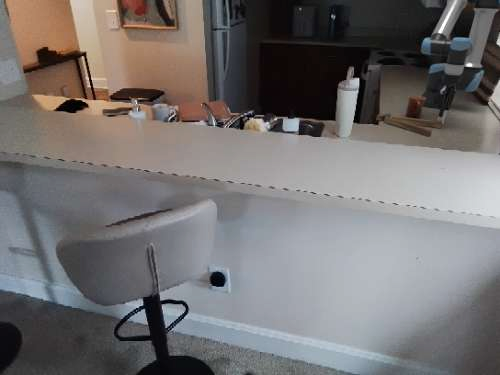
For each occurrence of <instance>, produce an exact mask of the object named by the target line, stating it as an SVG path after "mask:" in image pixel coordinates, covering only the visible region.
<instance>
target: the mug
mask: <svg viewBox="0 0 500 375" xmlns="http://www.w3.org/2000/svg"><path fill="white" fill-rule="evenodd" d="M425 100H426V98H425V97H422V95H414V94H413V95H408V96H407V102H408V103H407V108H406V111H405V112H406V113H405V116H406V118H414V119H420V117H421V116H422V112H423V109H424V108H423V107H424V106H423V104H424V102H425Z"/></svg>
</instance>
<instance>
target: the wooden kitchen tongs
mask: <svg viewBox="0 0 500 375" xmlns="http://www.w3.org/2000/svg"><path fill="white" fill-rule="evenodd" d="M375 120H376V121H380V122H381V121H383V122H384V123H386V124H389V125H392V126H396V127H399V128H401V129H406V130H408V131H411V132H415V133H418V134H421V135H425V136H428V137H429V136H432V133H433V130H432V129H430V128H427V127H424V126H421V125H414V124H410V123H407V122H403V121H400V120H397V119H393V118H392V114H390V113H380V114H377V115H376V119H375Z"/></svg>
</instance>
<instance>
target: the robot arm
mask: <svg viewBox="0 0 500 375" xmlns="http://www.w3.org/2000/svg"><path fill="white" fill-rule="evenodd" d="M467 5H470V6H471V5H472V6H473V9H472V10H474V17H473V21H472V25H471V29H470V32H469V35H468V37H454V38H453V39H449V37H450V35H451V33H452V31H453V29H454V26H455V24H456V22H457V20H458V19H459V16H460V15H461V12H462V10H463V9H465V8H466V7H467ZM498 11H500V0H446V6H445V8H444V10H443V12H442V14H441V16H440V18H439V21H438V22H437V24H436V26H435V28H434V29H433V31H432V34H431V35H430V37H425V38H424V39H423V40H422V43H421V47H420V52H421V54H425V55H427V56H440V57H447V59H446V60H447V61H446V63H445V62H444V63H443V62H442V63H434V64H432V65H430V68H429V71H428V75H427V80H426V84H425V88H424V91H423V93H422V95H421V96H422V97H425V98H426V100H425V102H424V104H423V107H424V108H425V107H427V108H433V109H437V110H439V112H438V116H437V119H436V120H438V121H442V125H443V124H444V123H445V119H446V115H447V111H450V109H451V107H452V104H453V101H454V99H455V97H456V96H455V95H456V93H457V92H458V91H462V92H463V91H464V92H471V93H472V92H475V91H476V90H477V89H478V87H479V86H480V83H481V81H482V80H483V77H484V73H485V70H483V65H482V64H481V61H482V58H483V54H484V51H485V47H486V45H487V41H488V37H489V34H490V31H491V27H492V24H493V20H494V16H495V14H496V13H498Z"/></svg>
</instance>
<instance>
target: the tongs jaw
mask: <svg viewBox="0 0 500 375" xmlns="http://www.w3.org/2000/svg"><path fill="white" fill-rule="evenodd" d="M391 118H393V119H397V120H400V121H403V122H407V123H410V124H413V125H417V126H421V127H431V128H436V129H441V128H442V125H443V124H442V121H438V120H437V119H436V120H429V119H420V118H409V117H404V116H395V115H391Z"/></svg>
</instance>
